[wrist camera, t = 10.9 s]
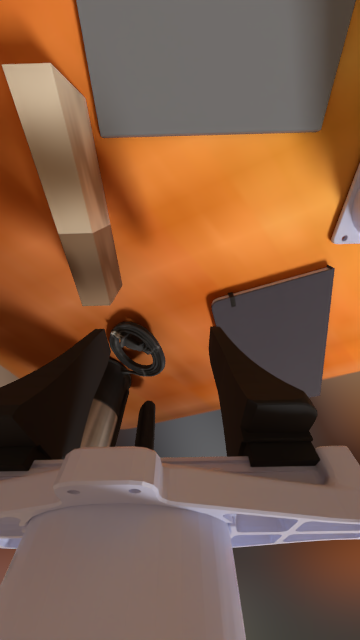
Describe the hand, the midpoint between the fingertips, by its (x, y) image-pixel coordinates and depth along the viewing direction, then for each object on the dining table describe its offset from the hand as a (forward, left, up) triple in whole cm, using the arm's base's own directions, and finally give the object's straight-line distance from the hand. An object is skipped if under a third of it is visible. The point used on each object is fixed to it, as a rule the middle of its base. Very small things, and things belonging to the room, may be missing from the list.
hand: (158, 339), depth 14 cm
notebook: (-14, +10, -10) cm, 20 cm away
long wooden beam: (+6, -7, -9) cm, 13 cm away
